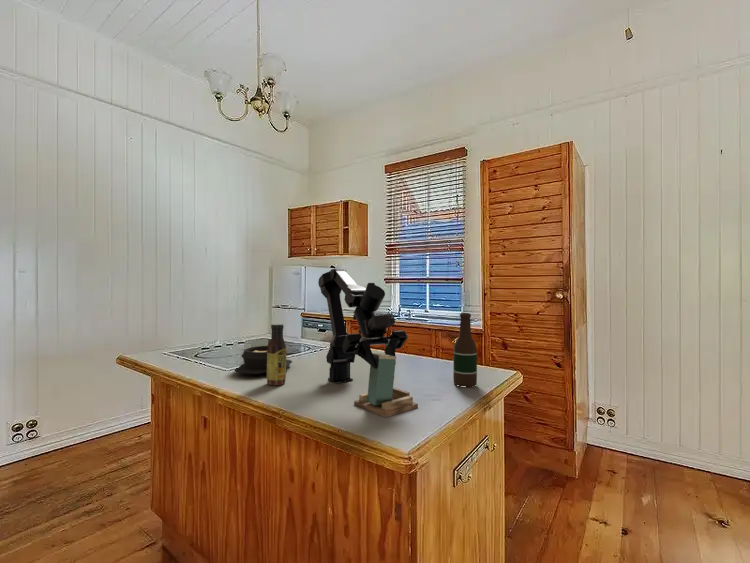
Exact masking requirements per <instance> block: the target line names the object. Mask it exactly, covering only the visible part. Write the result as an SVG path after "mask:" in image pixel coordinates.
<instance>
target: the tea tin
mask: <svg viewBox="0 0 750 563" xmlns="http://www.w3.org/2000/svg"><path fill="white" fill-rule="evenodd" d="M372 354H373V356H374V359H375V361H376V365H377V368H376V369H374V368H373V367H372V366H371V365H370V364H369V365H370V366H369V367H370V368H369V376H368V388H367V393H368V396H367V401H368V402H370V403H371V404H373V405H382V403H385V402H388V401H392V395H393V387H394V380H395V370H396V365H395V361H396V360H397V355H395V356H393V355H389V354H385V353H373V352H372ZM396 362H397V361H396Z"/></svg>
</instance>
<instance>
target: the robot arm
mask: <svg viewBox="0 0 750 563" xmlns="http://www.w3.org/2000/svg"><path fill="white" fill-rule="evenodd" d="M317 283H318V284H317V285H318V287H319V288H320V293H321V294H322V296H323V297H325V299H326V303H327V307H328V308H327V309H328V314H329V319H330V326H331V331H332V338H331V340H330V343H329V350H328V351H327V354H326V358H325V359H326V363H327V364H329V365H330V367H329V373H328V374H329V376H328V378H327V380H329V381H330V382H333V383H336V384H341V383H347V382H349V381H350V382H351V381H353V380H354V378H352V377H351V363H355V359H356V356H358V357H360V358H361V359H362V360H364V361H365V362H366V363H368V364H369V365H371V366H372V367H373V368H374V369H376V368H377V365H376V361H375V359H374V356H373V354H372V353H373V351H372V348H371V346H378V345H379V346H380V345H384V347H385V349H384V350H383V351H384V354H389V355H393V356H396V350H399V349H401V348H403V346H404V344H405V343H406V341H407V340H408V337H409V336H408V334H407V332H406V331H404V330H394V331H391V333H390V335H389V336H385V335H384V334H386V333H387V329H388V328H389V327H392V326H393V325H394V324H395V323H396V318H395V316H394V314H393V313H391V312H390V313H386V314H377V315H376V314H375V312H376V311H378V310H379V309H380V306H381V304H382V302H383V300H384V298H385V296H386V292H385V290H384V289H383V288H382V287H380V286H379V285H376V284H375V282H368V283H367V284H366V287H364V286H362V285H359V284H357V283H356V282H355V280H354V279H353V278H352V277H351V276H350V275H349V274H348V273H347V270H346V268H345V269H344V268H339V267H338V268H335V267H334V268H332V269H330V270H329V271H327V272H325V273H322V274H321V275H320V277H319V278H318V282H317ZM341 292H342V293H344V301H345V304H346V305H347V306H348V308H354V310H353V311H354V312H353V315H352V320H355V321H356V322H357V325H358V327H359V329H358V332H357V333H348V332H347V329H346V323H345V319H344V318H345V317H344V314H343V313H344V311H343V307H342V301H341ZM396 363H397V361H395V366H396V365H397V364H396Z"/></svg>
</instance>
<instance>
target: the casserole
mask: <svg viewBox="0 0 750 563" xmlns="http://www.w3.org/2000/svg"><path fill="white" fill-rule="evenodd" d="M267 352H268V345H258V346H251V347H247V348H245V349H244V350H243V353H242V354H241V357H242V359H243V363H242V364H240V366H238V368H235V369H234V370H233V371H234V372H236V373H238V374H243V375H267ZM287 355H288V352H287V351H286V356H287ZM292 363H293V361H292V359H287V358H286V369H288V367H290V366H291V364H292Z"/></svg>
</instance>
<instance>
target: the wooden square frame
mask: <svg viewBox="0 0 750 563" xmlns="http://www.w3.org/2000/svg"><path fill="white" fill-rule="evenodd" d="M410 393H411V392H410V391H407V390H404V389H400V388H397V387H395V386H393V395H392V401H388V402H385V403H382V405H373V404H371V403H370V402H368V401H367V396H368V392H364V393H361V394H359V395H358V396H359V397H358V399H357V400H354V401H353V404H354V406H356V407H359V408H361V409H364V410H366V411H369V412H371V413H373V414H376V415H379V416H382V417H383V418H386V419H387V418H388V417H391V416H395V415H399V414H400V413H402V414H403V413H404V412H408V411H411V410H414V409H417V408H419V403H416V402H414V400H413V399H414V398H413V396H411V395H410Z"/></svg>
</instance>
